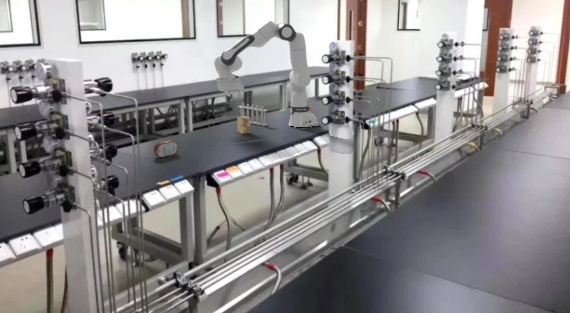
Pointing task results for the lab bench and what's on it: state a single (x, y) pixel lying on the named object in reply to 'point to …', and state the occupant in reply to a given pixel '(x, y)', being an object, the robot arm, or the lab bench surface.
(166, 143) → the tin
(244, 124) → the oak block
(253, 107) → the test tube rack
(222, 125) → the lab bench surface
